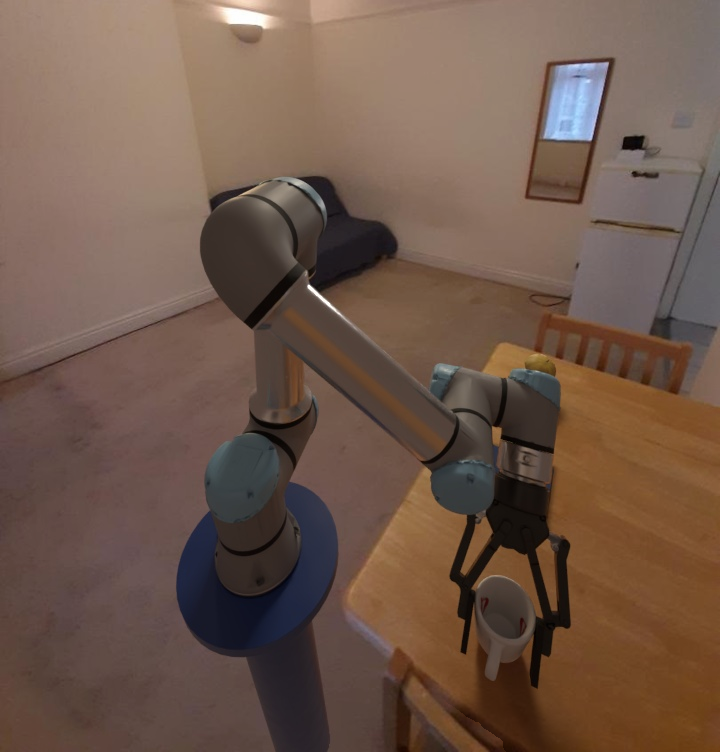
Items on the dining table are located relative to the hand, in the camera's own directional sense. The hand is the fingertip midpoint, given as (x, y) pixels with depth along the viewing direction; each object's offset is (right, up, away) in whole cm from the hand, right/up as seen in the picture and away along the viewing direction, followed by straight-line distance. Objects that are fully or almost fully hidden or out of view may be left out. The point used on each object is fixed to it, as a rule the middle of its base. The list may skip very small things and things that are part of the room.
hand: (497, 664), depth 52 cm
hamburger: (+27, +23, +50) cm, 61 cm away
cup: (+1, -2, +5) cm, 5 cm away
